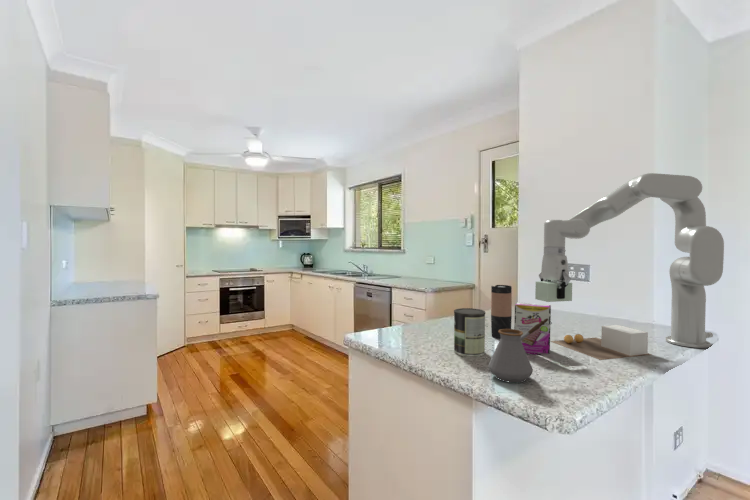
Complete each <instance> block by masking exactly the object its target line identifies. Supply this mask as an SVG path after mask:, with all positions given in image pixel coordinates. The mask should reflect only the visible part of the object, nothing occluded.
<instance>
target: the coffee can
mask: <svg viewBox="0 0 750 500" xmlns="http://www.w3.org/2000/svg"><path fill="white" fill-rule="evenodd" d="M453 314H454V317H453V318H454V319H453V326H454V327H453V330H454V331H453V332H454V333H453V337H454V338H453V353H455V354H456V355H459V356H463V357H468V358H476V357H482V356H484V355H486V350H485V348H486V346H485V345H486V343H485V342H486V341H485V340H486V339H485V338H486V328H485V327H486V311H485V310H483V309H478V308H473V307H472V308H468V307H467V308H466V307H463V308H456V309H454V310H453Z"/></svg>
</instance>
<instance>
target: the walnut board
mask: <svg viewBox="0 0 750 500" xmlns="http://www.w3.org/2000/svg"><path fill="white" fill-rule="evenodd" d="M583 338H584V340H583V341H582V342H580V343H578V342H576V341H575V340H574V338H573V342H572V343H566V342H565V341H564V339H562V340H550V343H553V344H556V345H559V346H561V347H563V348H567V349H570V350H572V351H575V352H578V353H580V354H583V355H585V356H589V357H591V358H593V359H597V360H599V361H604V360H614V359H615V360H617V359H622V358H623V359H624V358H633V357H642V356H652V355H653V354H652V353H648V354H642V355H632V356H630V355H627V354H624V353H621V352H618V351H615V350H612V349H608V348H605V347H602V346H601V338H599V337H588V338H587V337H586V338H585V337H583Z"/></svg>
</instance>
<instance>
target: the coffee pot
mask: <svg viewBox="0 0 750 500" xmlns="http://www.w3.org/2000/svg"><path fill="white" fill-rule="evenodd" d="M547 321H548V318H547V319H544V321H541V322H540V323H539V324H537V325H535V326H534V327H533V328H532V329H530V330H529V331H528V332H527V333H526V334H524V335H523V332H522V331H519V330H515V329H514V328H511V329H500V330H499V331H498V332H499V333H500V337H501V339H499V341H498V343H497V345H496V348H495V349H494V352H493V355H492V356H491V358H490V361H489V363H488V369H489V371H490V373H491V374H493V376H495V378H496V377H497V378H499V379H501V380H504V381H509V382H521V383H523V382H522V381H524V380H525V381H526V380H528V379H529V378H530V377H531V376H532V374H533V369H534V368H533V367H532V364H531V362H530V359H529V357H528V355H527V354H526V352H525V350H524V347H523V345H522V342H521V341H522V340H523V339H524V338H525V337H527V336H528V335H530V334H531V333H533V332H534V331H536V330H537V329H539V328H540V327H541V326H542V325H544V324H545V323H546V322H547ZM549 321H550V320H549ZM550 322H551V324H548V325H550V326H551V325H552V324H553V322H552V320H551V321H550ZM546 324H547V323H546ZM521 335H523V336H521ZM497 378H496V379H497ZM499 379H498V380H499ZM501 380H500V381H501ZM504 381H503V382H504ZM525 381H524V382H525ZM509 382H508V383H509Z"/></svg>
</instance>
